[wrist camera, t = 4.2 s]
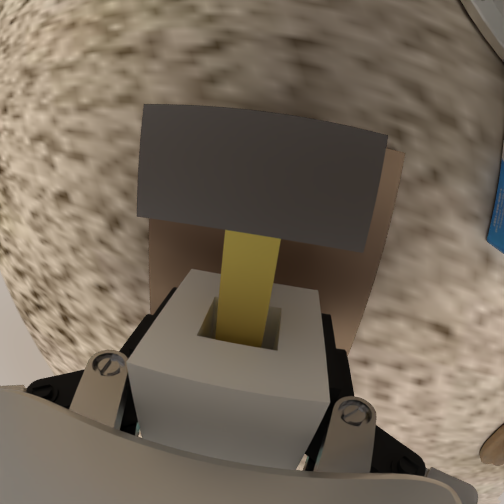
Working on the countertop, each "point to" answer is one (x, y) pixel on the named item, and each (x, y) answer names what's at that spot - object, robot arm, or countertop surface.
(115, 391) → the robot arm
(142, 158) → the cord board
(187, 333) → the sleeve
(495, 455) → the candle holder
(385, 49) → the countertop surface
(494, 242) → the ink box
